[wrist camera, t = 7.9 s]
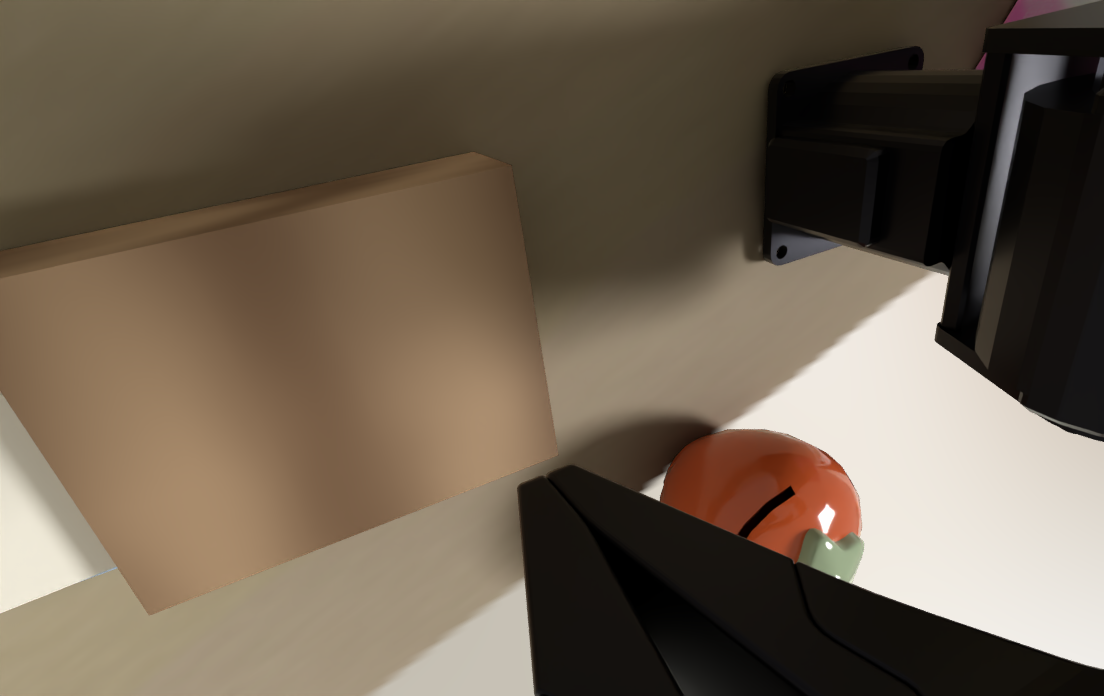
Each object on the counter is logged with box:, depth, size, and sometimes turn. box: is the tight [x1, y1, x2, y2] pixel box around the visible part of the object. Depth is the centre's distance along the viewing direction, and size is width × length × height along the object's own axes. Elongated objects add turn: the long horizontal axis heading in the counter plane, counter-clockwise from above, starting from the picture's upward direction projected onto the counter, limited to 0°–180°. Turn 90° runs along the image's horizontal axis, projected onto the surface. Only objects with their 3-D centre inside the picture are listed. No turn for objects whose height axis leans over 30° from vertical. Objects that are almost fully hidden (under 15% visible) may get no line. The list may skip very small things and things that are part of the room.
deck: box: [0, 152, 558, 615], centre depth 15 cm, size 11×8×3 cm
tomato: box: [660, 429, 864, 584], centre depth 22 cm, size 7×7×8 cm
